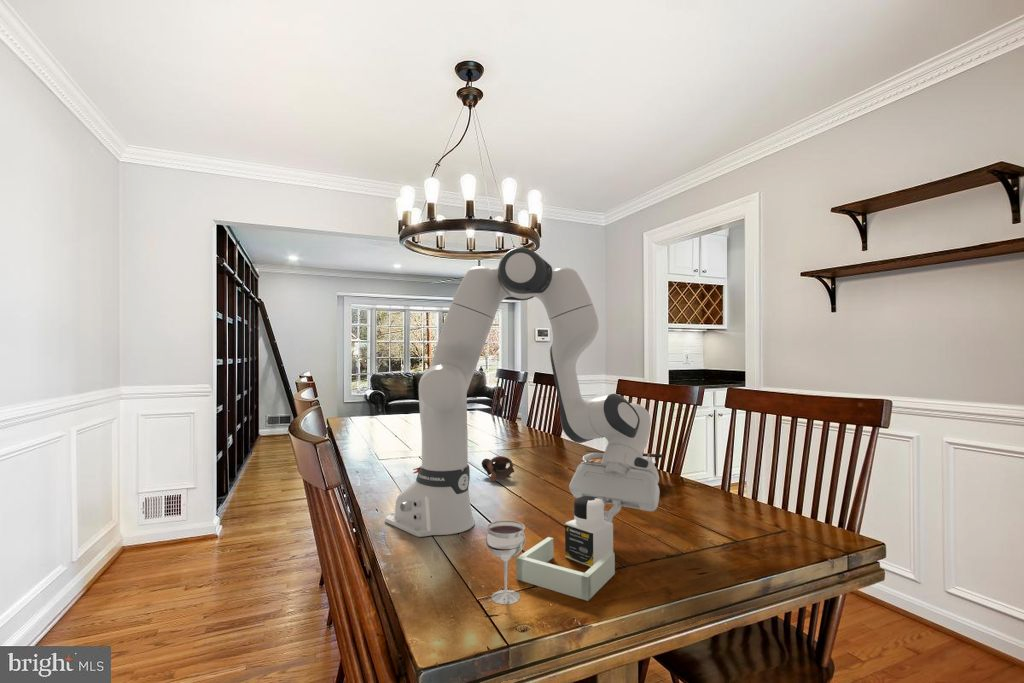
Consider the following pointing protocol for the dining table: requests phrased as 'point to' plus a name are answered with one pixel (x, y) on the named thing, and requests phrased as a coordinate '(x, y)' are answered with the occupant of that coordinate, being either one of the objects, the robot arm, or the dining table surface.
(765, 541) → the dining table surface
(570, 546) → the medicine bottle
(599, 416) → the robot arm
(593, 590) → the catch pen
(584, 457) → the ramen bowl
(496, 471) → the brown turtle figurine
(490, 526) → the wineglass
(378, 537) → the dining table surface
